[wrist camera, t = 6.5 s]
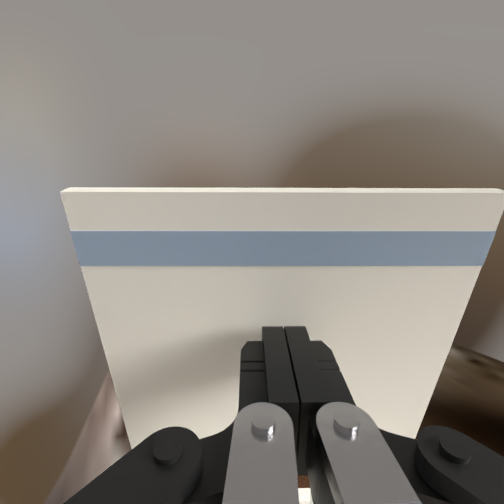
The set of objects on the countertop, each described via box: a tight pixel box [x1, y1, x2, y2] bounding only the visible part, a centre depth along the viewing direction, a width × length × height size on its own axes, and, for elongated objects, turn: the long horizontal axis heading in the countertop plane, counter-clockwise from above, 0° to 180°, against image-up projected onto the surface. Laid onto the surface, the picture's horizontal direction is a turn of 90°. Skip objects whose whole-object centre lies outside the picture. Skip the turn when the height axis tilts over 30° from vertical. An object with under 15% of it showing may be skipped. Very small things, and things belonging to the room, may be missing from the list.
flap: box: [60, 187, 504, 449], centre depth 12 cm, size 1×13×14 cm, turn 91°
